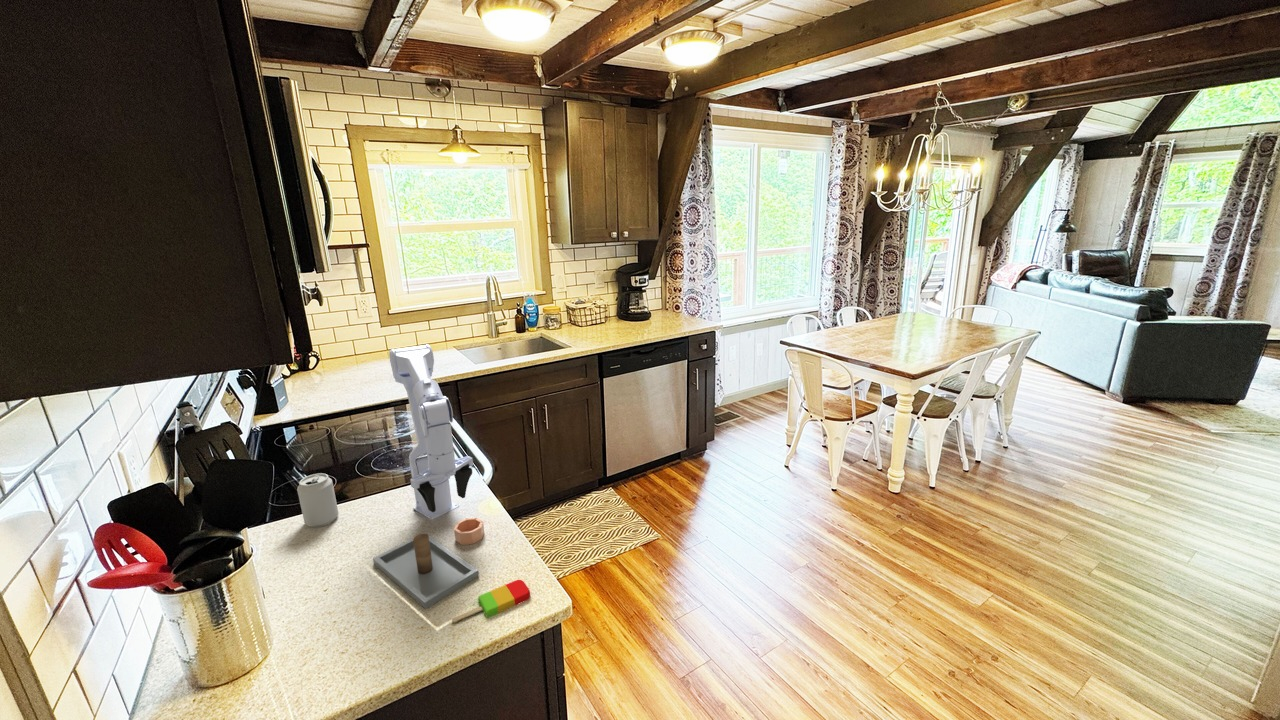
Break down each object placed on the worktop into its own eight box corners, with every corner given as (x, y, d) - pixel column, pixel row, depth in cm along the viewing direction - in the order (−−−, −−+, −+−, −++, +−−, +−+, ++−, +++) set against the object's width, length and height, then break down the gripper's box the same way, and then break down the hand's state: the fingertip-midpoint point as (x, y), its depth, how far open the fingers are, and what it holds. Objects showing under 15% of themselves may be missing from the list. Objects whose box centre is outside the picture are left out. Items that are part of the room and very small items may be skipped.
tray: (374, 566, 112) (372, 558, 111) (425, 539, 121) (424, 532, 120) (425, 611, 98) (424, 602, 98) (479, 578, 107) (478, 570, 107)
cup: (451, 539, 120) (449, 526, 120) (474, 527, 125) (472, 515, 124) (466, 549, 117) (464, 536, 116) (488, 536, 121) (487, 523, 120)
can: (298, 529, 125) (288, 486, 122) (316, 512, 133) (307, 471, 129) (329, 528, 126) (320, 485, 122) (344, 512, 133) (337, 470, 130)
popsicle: (532, 599, 102) (531, 591, 101) (456, 634, 93) (455, 625, 93) (522, 584, 106) (521, 576, 105) (448, 616, 98) (447, 608, 97)
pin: (415, 570, 109) (410, 538, 107) (428, 563, 111) (423, 531, 109) (422, 576, 107) (417, 543, 105) (435, 568, 109) (431, 536, 107)
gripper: (418, 467, 107) (426, 523, 111) (478, 444, 118) (483, 495, 122) (402, 458, 112) (410, 512, 115) (461, 436, 122) (467, 486, 126)
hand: (447, 503), depth 119 cm, fingers open, 7 cm apart
